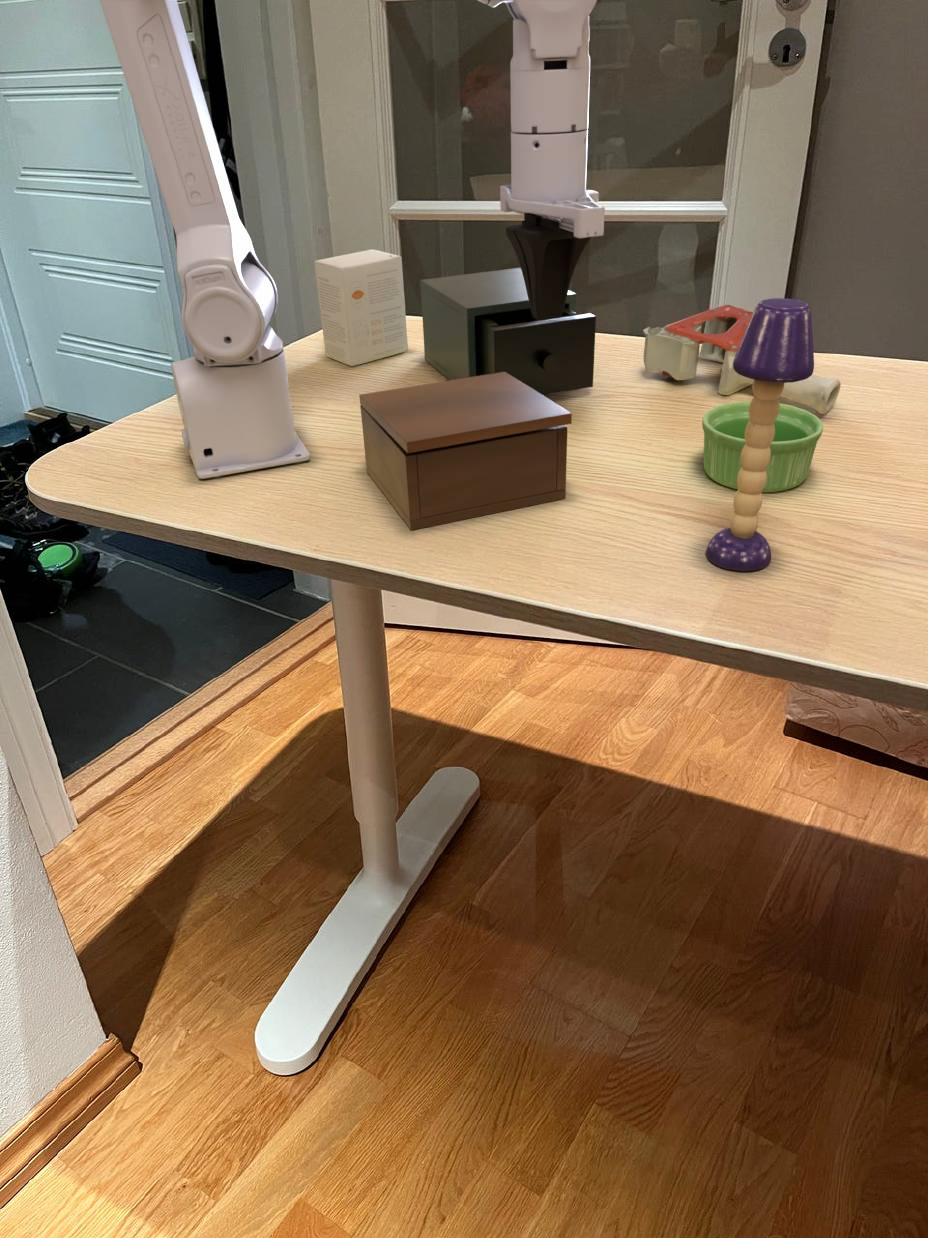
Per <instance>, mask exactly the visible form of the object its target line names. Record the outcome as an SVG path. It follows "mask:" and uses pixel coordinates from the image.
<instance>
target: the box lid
mask: <svg viewBox="0 0 928 1238" xmlns="http://www.w3.org/2000/svg"><path fill="white" fill-rule="evenodd" d="M358 398H359V405H361V406H362V407H363V408H364V409H365V410H366V411H367V412H368V413H369V414H370V415H371V416H372V417H373V418H374V419H375V420H376V421H377V422H378V423H379V424H380V425H381V426H382V427H383V428H384V429H385V430H386V431H387V432H388V433H389V434H390V435H391V436H392V437H393V438H394V439H395V441H396V442H397V443H398V444H399V445H400V446H401V447H402V448H403V449H404V450H405V451H406V452H407V453H411V452H417V451H422V450H428V449H434V448H439V447H445V446H450V445H456V444H461V443H467V442H472V441H478V440H483V439H489V438H495V437H500V436H506V435H511V434H517V433H522V432H528V431H533V430H539V429H544V428H550V427H556V426H561V425H565V426H567V425H571V424H572V421H573V417H572V416H573V413H572V412H571V411H569V410H567V409H566V408H564V407H562V406H561V405H559V404H557V403H556V402H554V401H553V400H552V399H550V398H548V397H546V395H542V394H540V393H538V392H537V391H535V390H533V389H532V388H530V387H529V386H527V385H525V384H524V383H522V382H521V381H519V380H517V379H516V378H514V377H513V376H511V375H509V374H508V373H506V372H500V373H494V374H487V375H481V376H475V377H468V378H462V379H456V380H445V381H437V382H430V383H425V384H418V385H412V386H406V387H400V388H393V389H387V390H381V391H374V392H368V393H362V394H359V397H358Z"/></svg>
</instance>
